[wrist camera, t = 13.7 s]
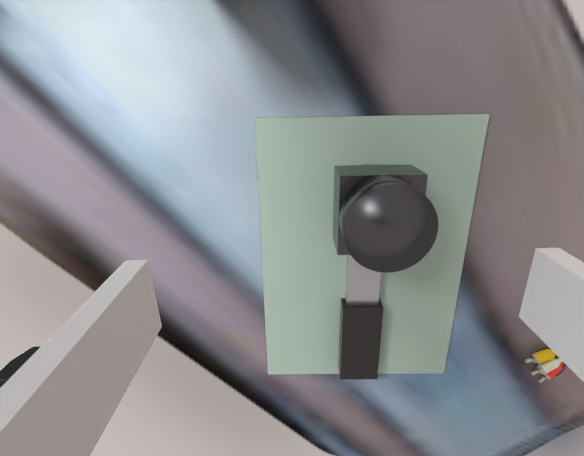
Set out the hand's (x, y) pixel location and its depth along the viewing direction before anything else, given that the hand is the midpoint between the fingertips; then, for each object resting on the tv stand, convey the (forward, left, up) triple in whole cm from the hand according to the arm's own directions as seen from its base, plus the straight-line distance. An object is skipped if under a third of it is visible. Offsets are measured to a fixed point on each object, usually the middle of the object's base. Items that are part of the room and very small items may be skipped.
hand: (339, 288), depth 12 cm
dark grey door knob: (+2, +5, -19) cm, 19 cm away
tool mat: (+9, +5, -21) cm, 23 cm away
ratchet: (+11, +5, -20) cm, 24 cm away
